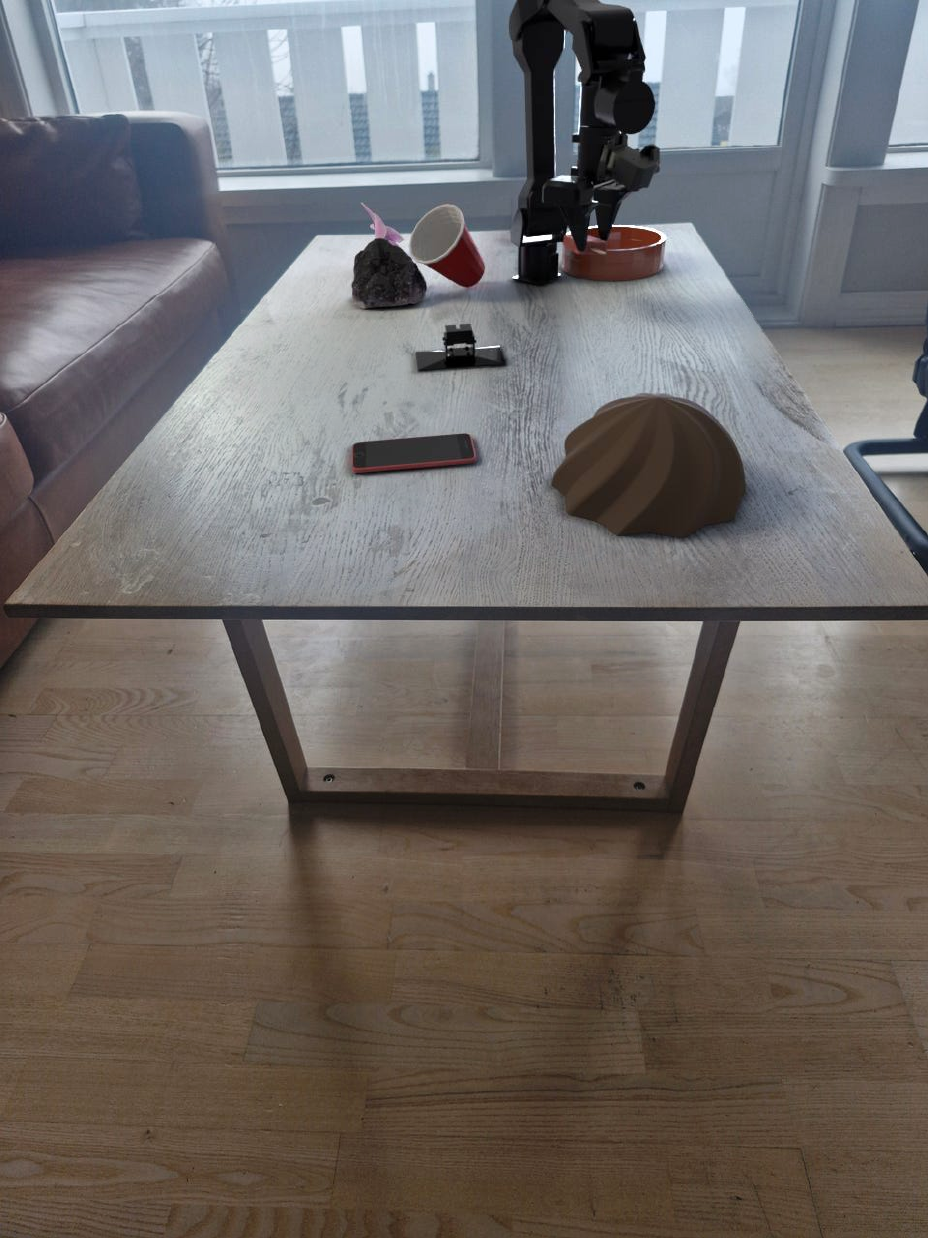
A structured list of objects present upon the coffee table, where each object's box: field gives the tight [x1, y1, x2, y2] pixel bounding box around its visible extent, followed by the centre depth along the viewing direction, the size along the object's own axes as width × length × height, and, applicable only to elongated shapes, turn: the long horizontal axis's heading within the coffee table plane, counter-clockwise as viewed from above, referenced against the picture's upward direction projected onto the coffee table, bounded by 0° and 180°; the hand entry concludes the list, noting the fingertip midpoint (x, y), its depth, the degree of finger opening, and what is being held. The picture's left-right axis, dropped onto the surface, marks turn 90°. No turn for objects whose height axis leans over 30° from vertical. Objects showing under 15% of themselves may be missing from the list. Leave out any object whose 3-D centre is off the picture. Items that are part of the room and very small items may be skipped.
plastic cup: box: [408, 203, 486, 289], centre depth 135 cm, size 11×11×12 cm
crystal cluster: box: [351, 237, 428, 310], centre depth 135 cm, size 13×14×10 cm
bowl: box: [561, 224, 667, 282], centre depth 146 cm, size 18×18×5 cm
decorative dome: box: [551, 392, 747, 538], centre depth 80 cm, size 19×20×10 cm
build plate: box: [415, 323, 507, 373], centre depth 112 cm, size 12×7×5 cm, turn 95°
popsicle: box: [562, 233, 608, 254], centre depth 119 cm, size 4×2×15 cm
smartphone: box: [350, 432, 477, 474], centre depth 90 cm, size 7×1×14 cm
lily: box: [360, 202, 405, 248], centre depth 156 cm, size 12×12×10 cm
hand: (592, 246), depth 118 cm, fingers closed on popsicle, 6 cm apart
